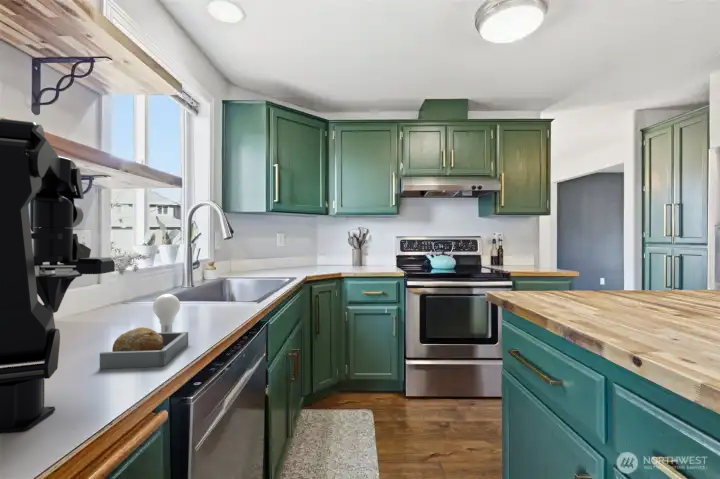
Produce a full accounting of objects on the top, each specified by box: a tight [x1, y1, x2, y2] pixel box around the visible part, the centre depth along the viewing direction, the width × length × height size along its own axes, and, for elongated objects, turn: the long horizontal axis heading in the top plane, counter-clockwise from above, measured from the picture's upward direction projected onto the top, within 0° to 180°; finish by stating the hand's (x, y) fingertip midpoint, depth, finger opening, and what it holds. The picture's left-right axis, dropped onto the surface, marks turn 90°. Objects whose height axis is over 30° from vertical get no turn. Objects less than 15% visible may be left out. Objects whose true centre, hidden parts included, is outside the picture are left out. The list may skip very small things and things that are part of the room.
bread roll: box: [111, 327, 164, 352], centre depth 84 cm, size 10×10×8 cm
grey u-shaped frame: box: [99, 331, 189, 369], centre depth 85 cm, size 16×12×3 cm
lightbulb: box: [152, 293, 181, 333], centre depth 101 cm, size 6×6×11 cm
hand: (53, 312), depth 71 cm, fingers closed
